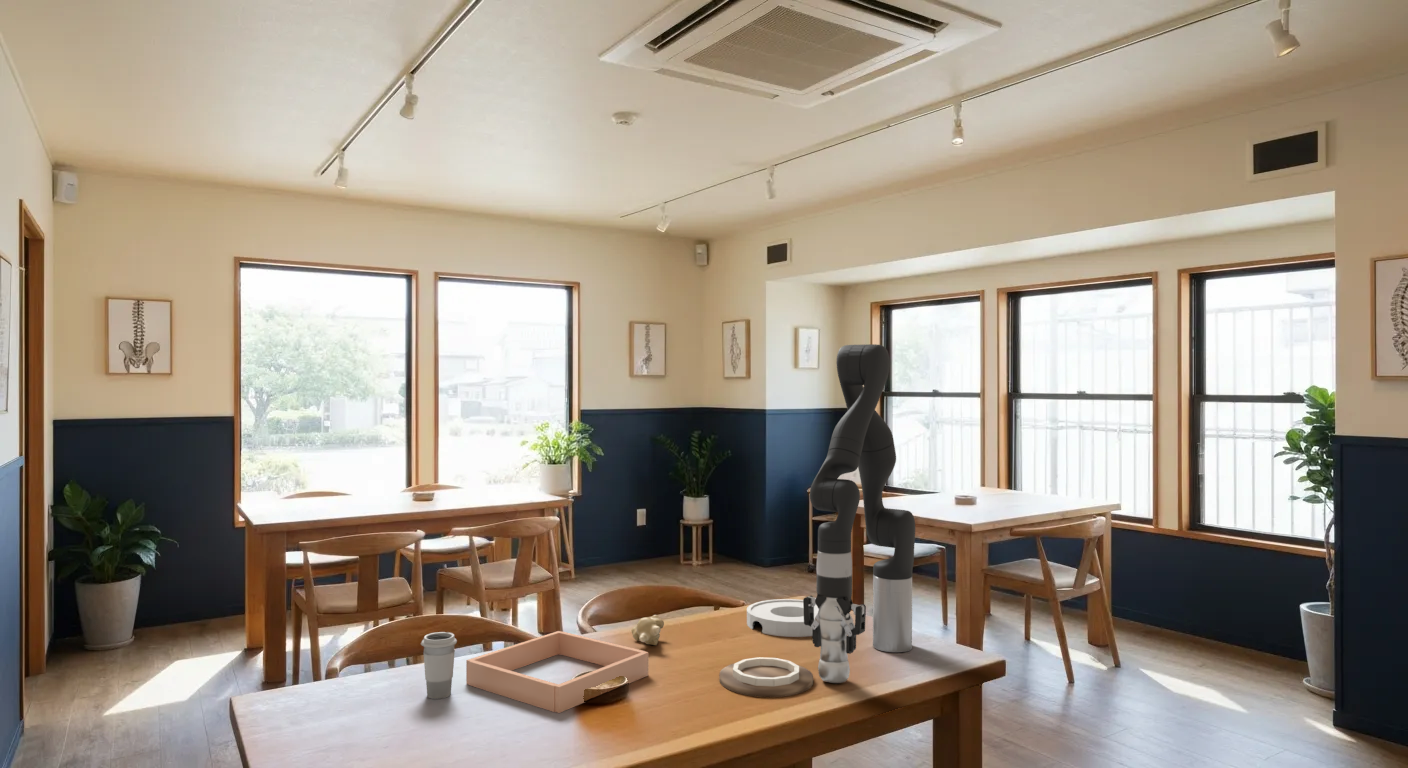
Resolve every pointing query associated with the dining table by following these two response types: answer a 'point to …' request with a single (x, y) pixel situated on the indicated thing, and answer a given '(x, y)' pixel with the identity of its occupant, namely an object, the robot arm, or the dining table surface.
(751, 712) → the dining table surface
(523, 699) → the peach open square frame
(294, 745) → the dining table surface
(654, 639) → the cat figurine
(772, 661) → the ring
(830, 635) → the plastic bottle
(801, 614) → the white round disc base
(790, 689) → the round tan coaster
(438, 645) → the cup
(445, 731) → the dining table surface
